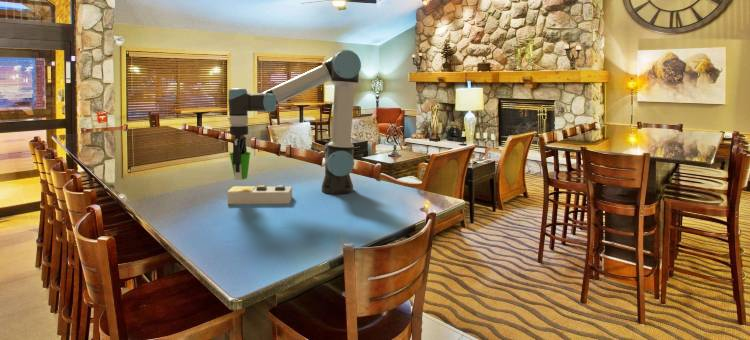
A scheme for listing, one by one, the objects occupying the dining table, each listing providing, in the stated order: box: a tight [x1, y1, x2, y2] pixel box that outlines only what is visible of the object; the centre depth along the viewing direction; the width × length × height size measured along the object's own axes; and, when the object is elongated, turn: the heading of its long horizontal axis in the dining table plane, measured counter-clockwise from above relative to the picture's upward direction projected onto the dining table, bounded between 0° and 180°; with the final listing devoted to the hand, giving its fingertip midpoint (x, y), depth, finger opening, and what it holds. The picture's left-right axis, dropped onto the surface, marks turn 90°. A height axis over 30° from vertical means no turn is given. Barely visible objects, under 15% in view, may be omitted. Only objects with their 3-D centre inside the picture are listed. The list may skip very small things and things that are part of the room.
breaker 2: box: [274, 184, 286, 191], centre depth 207 cm, size 4×4×6 cm
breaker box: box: [226, 185, 293, 205], centre depth 207 cm, size 26×11×5 cm, turn 93°
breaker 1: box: [256, 184, 267, 191], centre depth 207 cm, size 4×4×6 cm
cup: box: [228, 151, 251, 180], centre depth 204 cm, size 9×9×11 cm
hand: (241, 177), depth 205 cm, fingers closed on cup, 9 cm apart
